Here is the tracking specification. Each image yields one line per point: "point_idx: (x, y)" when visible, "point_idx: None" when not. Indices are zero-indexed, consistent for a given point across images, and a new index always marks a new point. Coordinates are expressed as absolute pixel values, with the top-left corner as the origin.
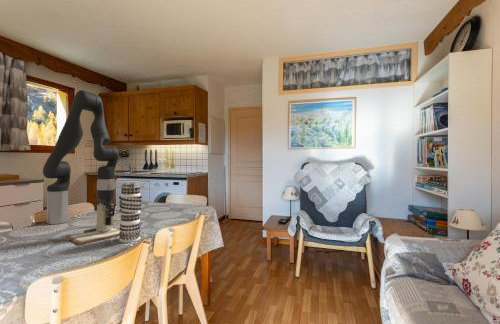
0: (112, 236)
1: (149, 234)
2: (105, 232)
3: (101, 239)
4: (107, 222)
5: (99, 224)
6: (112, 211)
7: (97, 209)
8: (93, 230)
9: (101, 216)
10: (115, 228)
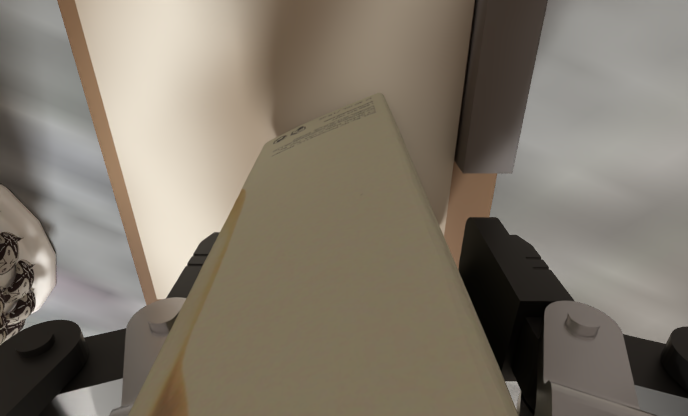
0: (109, 162)
1: None
2: None
3: (75, 22)
4: None
5: (323, 146)
6: None
7: (457, 368)
8: (469, 87)
9: (265, 249)
10: None
